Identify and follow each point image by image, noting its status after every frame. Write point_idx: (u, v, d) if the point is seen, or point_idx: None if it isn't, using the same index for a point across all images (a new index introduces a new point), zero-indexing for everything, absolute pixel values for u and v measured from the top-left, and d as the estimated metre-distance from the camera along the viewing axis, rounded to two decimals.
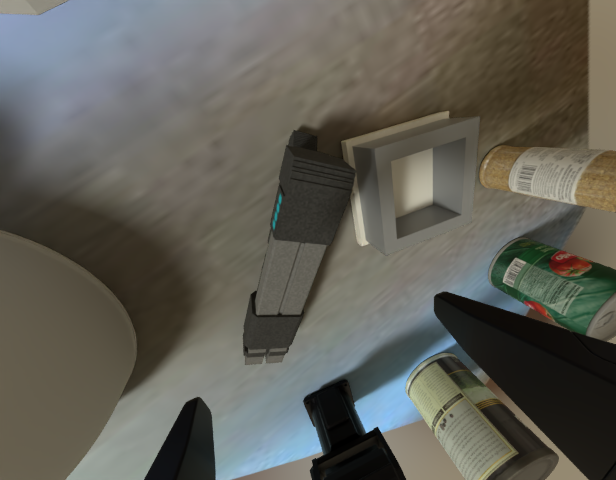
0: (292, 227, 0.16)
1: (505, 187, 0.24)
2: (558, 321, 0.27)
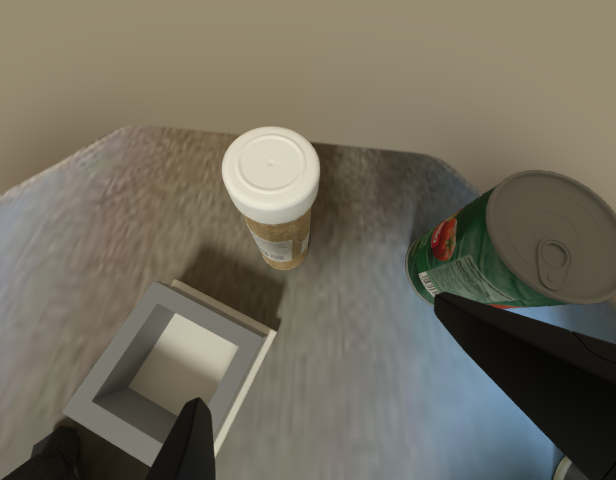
0: None
1: (287, 262, 0.20)
2: (536, 306, 0.15)
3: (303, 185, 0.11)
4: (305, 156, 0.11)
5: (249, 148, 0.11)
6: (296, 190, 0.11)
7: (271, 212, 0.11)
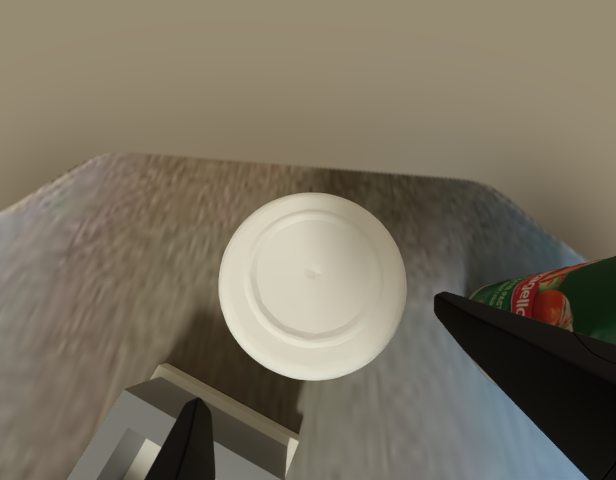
0: None
1: None
2: None
3: (383, 322, 0.05)
4: (378, 255, 0.06)
5: (271, 241, 0.06)
6: (370, 335, 0.05)
7: (319, 378, 0.05)
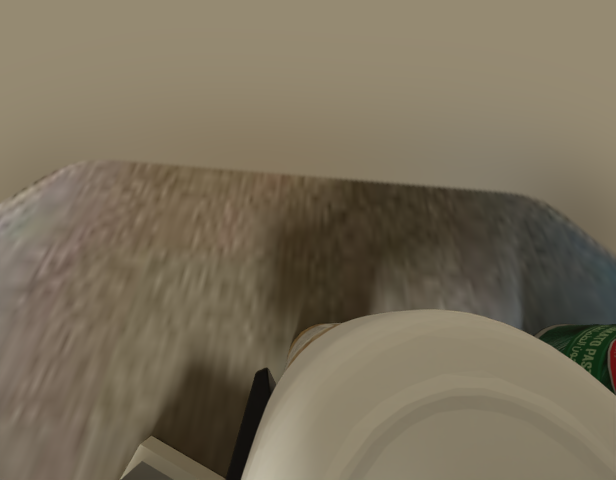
0: None
1: None
2: None
3: None
4: None
5: None
6: None
7: None
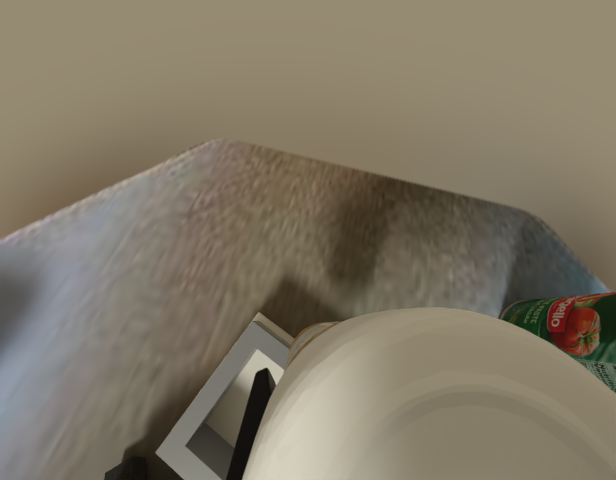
0: None
1: None
2: None
3: None
4: None
5: None
6: None
7: None
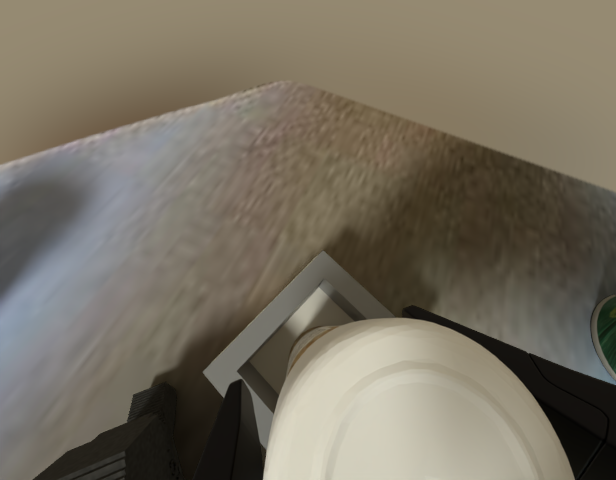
0: None
1: None
2: None
3: None
4: (535, 457, 0.03)
5: (352, 429, 0.03)
6: None
7: None
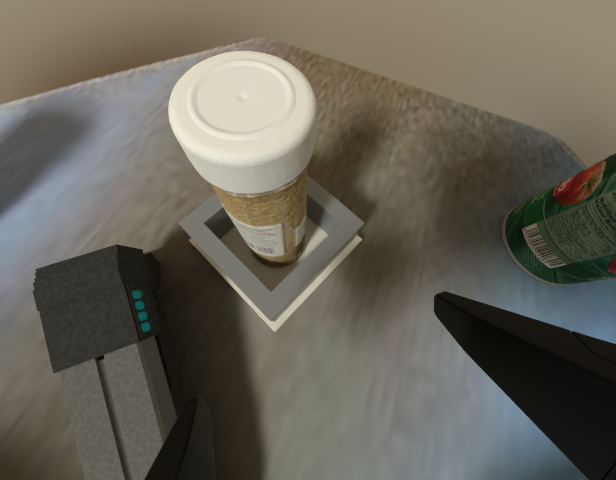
0: (69, 344, 0.12)
1: (279, 257, 0.17)
2: None
3: (290, 128, 0.07)
4: (294, 88, 0.07)
5: (211, 77, 0.07)
6: (279, 135, 0.07)
7: (242, 170, 0.07)
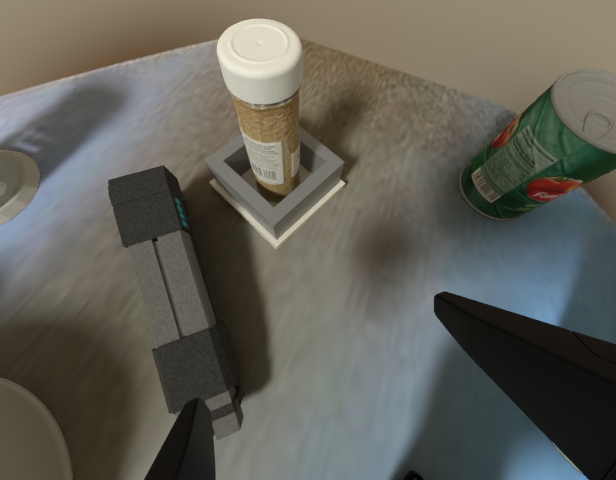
0: (134, 228, 0.18)
1: (279, 186, 0.22)
2: (572, 174, 0.18)
3: (286, 59, 0.12)
4: (289, 38, 0.13)
5: (241, 32, 0.13)
6: (280, 62, 0.12)
7: (259, 82, 0.12)
